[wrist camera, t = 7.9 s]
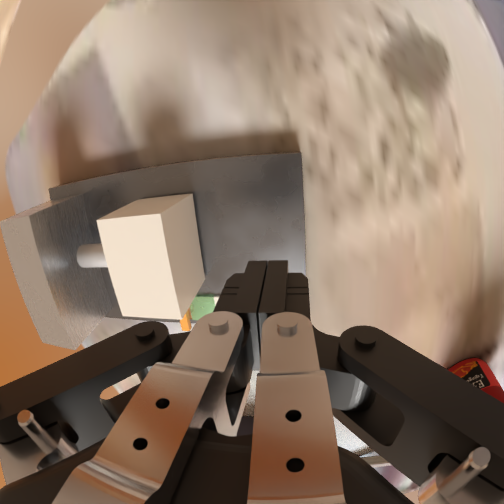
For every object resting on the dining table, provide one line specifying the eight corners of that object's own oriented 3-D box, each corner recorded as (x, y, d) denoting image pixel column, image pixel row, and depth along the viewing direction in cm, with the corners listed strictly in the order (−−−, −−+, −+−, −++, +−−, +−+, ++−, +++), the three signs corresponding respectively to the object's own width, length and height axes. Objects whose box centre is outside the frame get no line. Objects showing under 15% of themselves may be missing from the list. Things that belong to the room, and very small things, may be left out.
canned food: (471, 344, 22) (517, 424, 12) (494, 370, 23) (530, 437, 13) (417, 392, 25) (442, 476, 15) (447, 411, 26) (471, 481, 16)
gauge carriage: (94, 205, 19) (50, 226, 15) (192, 193, 18) (160, 213, 14) (124, 320, 23) (95, 357, 18) (213, 325, 22) (195, 371, 17)
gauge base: (59, 185, 21) (-4, 208, 14) (300, 151, 18) (306, 159, 11) (91, 306, 25) (47, 352, 18) (304, 312, 22) (307, 382, 16)
